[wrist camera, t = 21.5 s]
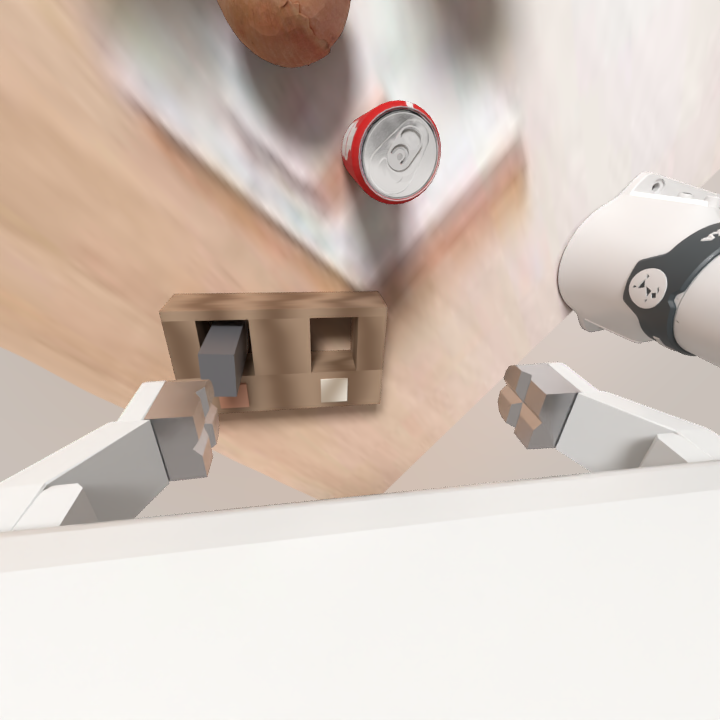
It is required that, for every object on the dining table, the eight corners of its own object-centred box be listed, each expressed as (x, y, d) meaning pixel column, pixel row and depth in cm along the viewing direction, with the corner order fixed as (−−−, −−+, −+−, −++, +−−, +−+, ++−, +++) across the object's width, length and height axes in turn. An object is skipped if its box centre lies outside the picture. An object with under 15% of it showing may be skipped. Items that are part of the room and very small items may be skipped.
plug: (247, 311, 40) (234, 354, 32) (248, 347, 43) (236, 396, 34) (218, 310, 40) (197, 353, 31) (221, 347, 42) (202, 396, 33)
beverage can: (411, 155, 35) (477, 155, 22) (360, 202, 37) (395, 229, 24) (373, 96, 32) (424, 59, 20) (320, 150, 34) (335, 149, 21)
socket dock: (378, 291, 42) (388, 308, 37) (372, 381, 48) (380, 405, 43) (174, 294, 38) (157, 313, 34) (195, 390, 44) (184, 417, 40)
